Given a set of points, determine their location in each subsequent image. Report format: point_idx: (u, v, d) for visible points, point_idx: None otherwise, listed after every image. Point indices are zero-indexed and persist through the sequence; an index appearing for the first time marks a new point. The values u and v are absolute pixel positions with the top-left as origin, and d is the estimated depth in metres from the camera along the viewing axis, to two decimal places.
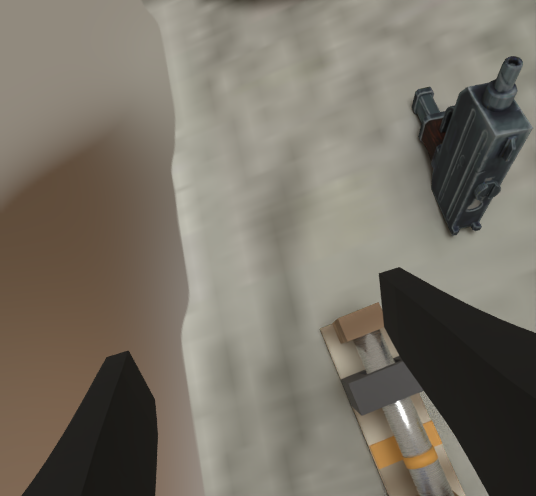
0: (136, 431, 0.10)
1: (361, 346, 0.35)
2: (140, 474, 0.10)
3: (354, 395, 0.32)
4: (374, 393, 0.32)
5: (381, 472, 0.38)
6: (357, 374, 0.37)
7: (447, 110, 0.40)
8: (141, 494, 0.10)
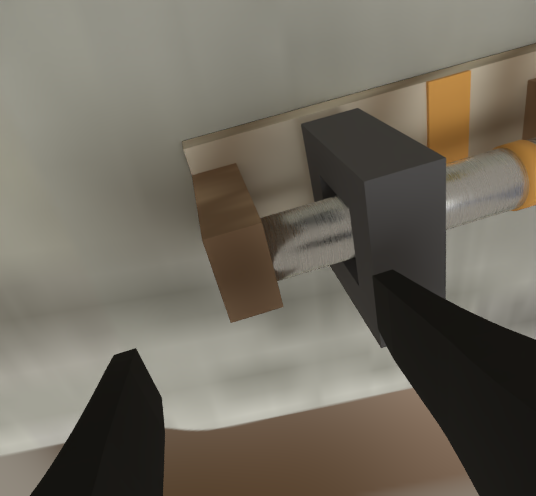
0: (144, 428, 0.10)
1: (295, 275, 0.16)
2: (148, 471, 0.10)
3: None
4: None
5: None
6: None
7: None
8: (150, 491, 0.10)
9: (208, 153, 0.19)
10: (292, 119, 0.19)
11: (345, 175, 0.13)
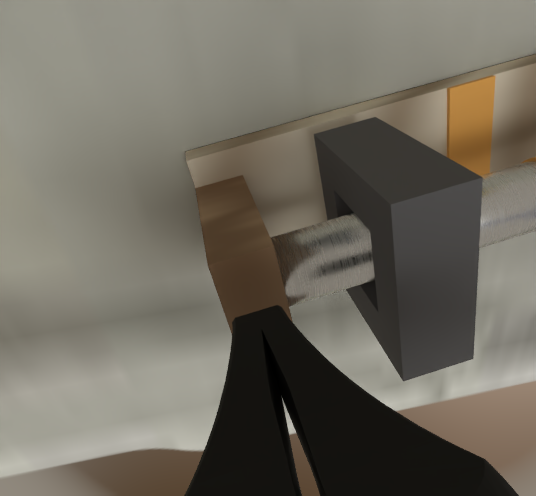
0: (275, 386, 0.11)
1: None
2: (284, 427, 0.10)
3: (429, 370, 0.14)
4: (441, 335, 0.13)
5: None
6: None
7: None
8: (289, 445, 0.10)
9: (212, 165, 0.17)
10: (303, 128, 0.17)
11: (366, 194, 0.12)
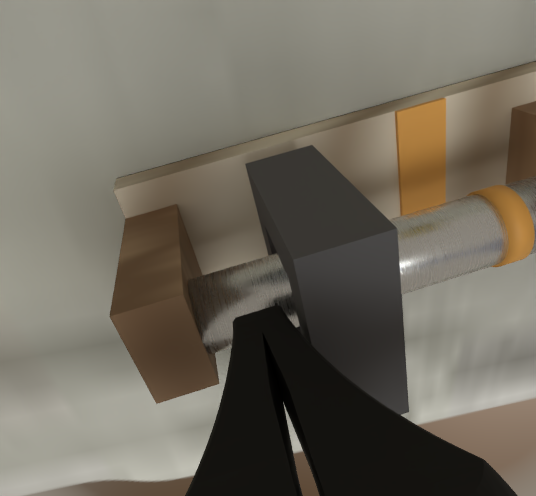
0: (276, 386, 0.11)
1: None
2: (285, 427, 0.10)
3: None
4: (369, 390, 0.12)
5: None
6: None
7: None
8: (289, 445, 0.10)
9: (143, 194, 0.16)
10: (240, 154, 0.16)
11: (279, 240, 0.11)
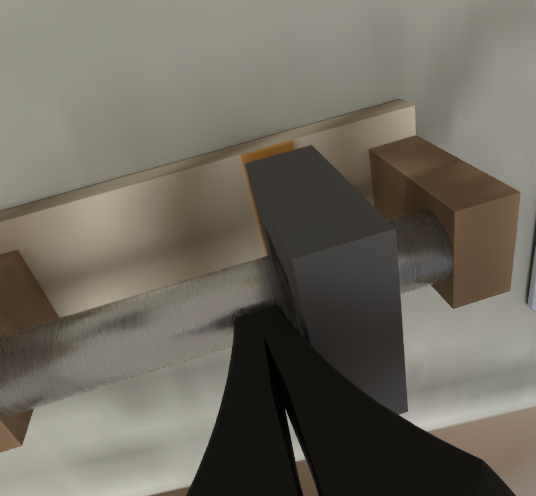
0: (276, 386, 0.11)
1: None
2: (285, 426, 0.10)
3: None
4: (368, 390, 0.12)
5: None
6: None
7: None
8: (290, 445, 0.10)
9: None
10: (78, 200, 0.16)
11: (279, 240, 0.11)
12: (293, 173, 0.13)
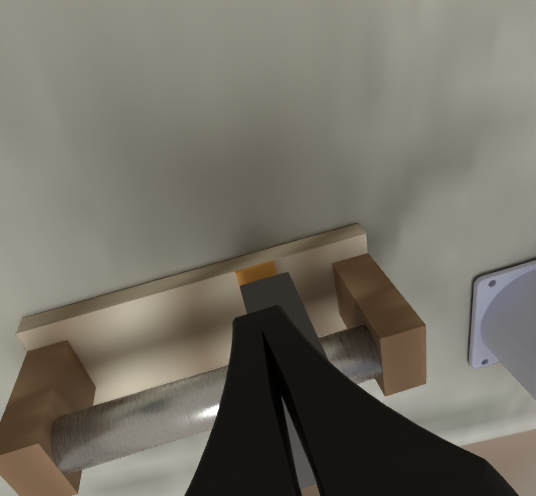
0: (275, 386, 0.11)
1: (87, 467, 0.19)
2: (284, 427, 0.10)
3: None
4: None
5: None
6: None
7: None
8: (288, 445, 0.10)
9: (39, 335, 0.21)
10: (114, 305, 0.21)
11: None
12: (273, 303, 0.19)
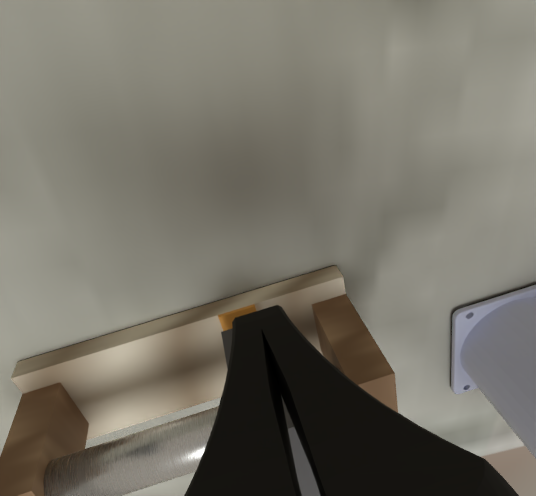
0: (275, 386, 0.11)
1: None
2: (284, 427, 0.10)
3: None
4: None
5: None
6: None
7: None
8: (289, 445, 0.10)
9: (33, 378, 0.23)
10: (103, 350, 0.23)
11: None
12: None
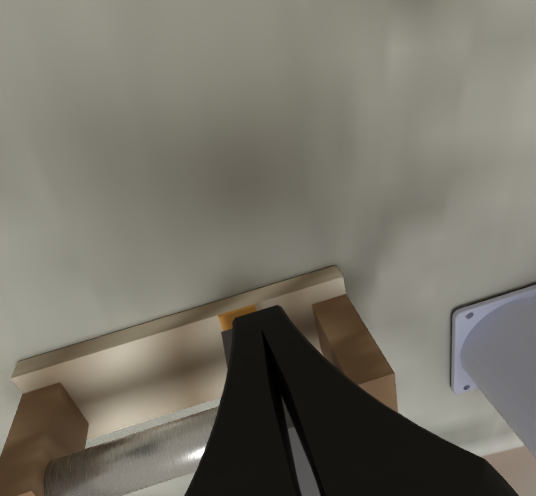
0: (275, 386, 0.11)
1: None
2: (284, 427, 0.10)
3: None
4: None
5: None
6: None
7: None
8: (289, 445, 0.10)
9: (33, 378, 0.23)
10: (103, 350, 0.23)
11: None
12: None
